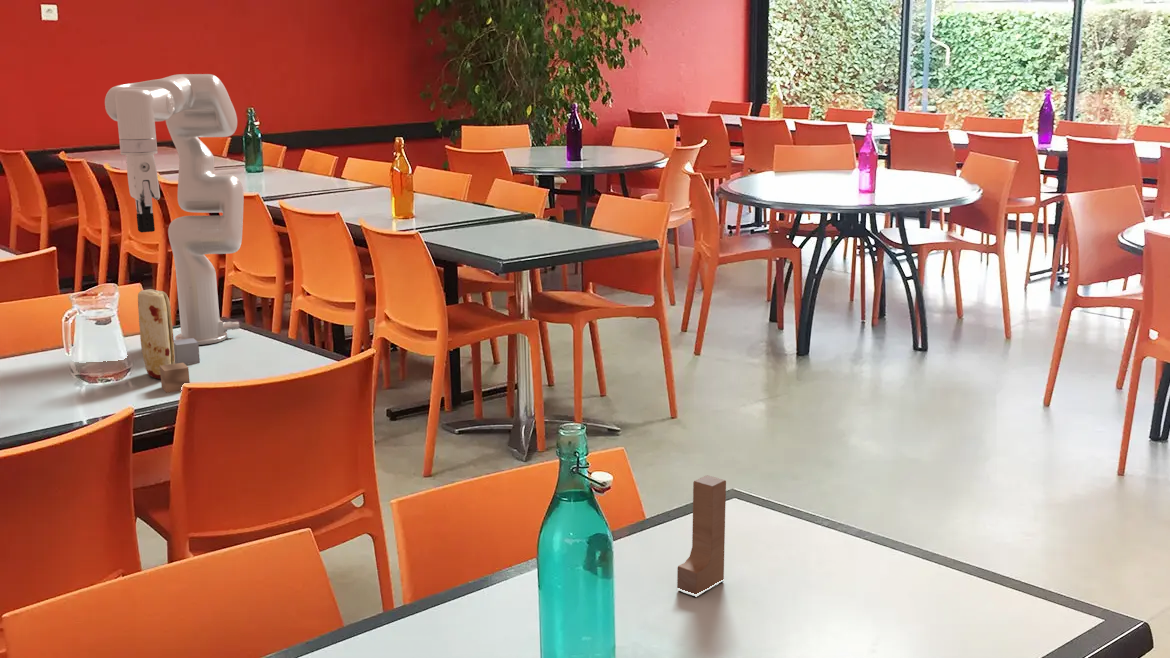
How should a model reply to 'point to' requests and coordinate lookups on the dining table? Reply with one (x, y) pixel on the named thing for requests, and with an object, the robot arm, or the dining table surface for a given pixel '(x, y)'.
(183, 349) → the slate cube
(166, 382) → the walnut cube
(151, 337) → the food model
